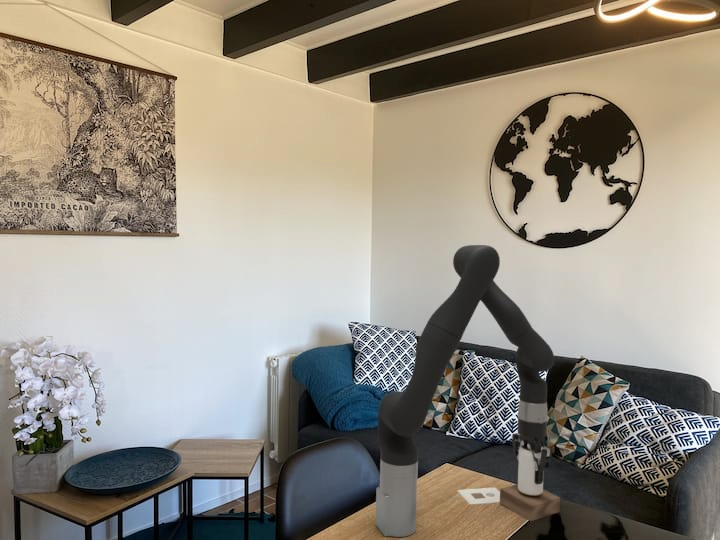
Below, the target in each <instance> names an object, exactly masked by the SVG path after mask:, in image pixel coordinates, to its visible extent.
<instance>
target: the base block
mask: <svg viewBox="0 0 720 540" xmlns="http://www.w3.org/2000/svg"><path fill="white" fill-rule="evenodd" d="M499 491H500V503H499V504H500V505H502V506H504V508H507V509H509V510H510V511H512V512H514V513H516V514H517V515H519V516H521V517H522V518H524V519H526V520H528V521H530V522H533V521H536V520H539V519H542V518H546V517H549V516H551V515H554V514H558V513H560V511H561V510H560V508H561V497H560V496H558V495H556V494H554V493H552V492H550V491H548V490H546V489H544V488H543V492H542V493H541V494H540V495H538V496H530V495H526V494H523V493H521V492H520V491H519V489H518V483H517V484H513V485H510V486H506V487H502V488H500V490H499Z"/></svg>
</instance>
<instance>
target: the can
mask: <svg viewBox="0 0 720 540" xmlns="http://www.w3.org/2000/svg"><path fill="white" fill-rule="evenodd" d="M534 455H535V457H536V458H538V459H540V458H541V454H540V453H537V454H535V453H534ZM538 465H540V460H539V461H538ZM517 471H518V472H517V484H518V489H519V491H520V492H521V493H523V494H526V495H530V496H538V495H540V494H541V493H542V492H543V489H544V481H543V482H542V483H541V484H535V462H534V461H533V456H532V453H531V450H528V448H526V447H522V445H521V449H520V451H519V466H518V465H517ZM544 471H545V470H544ZM544 471H543V473H544Z"/></svg>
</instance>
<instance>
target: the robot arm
mask: <svg viewBox="0 0 720 540" xmlns="http://www.w3.org/2000/svg"><path fill="white" fill-rule="evenodd" d="M500 263H501V260H500V255H499V252H498V251H497V249H495V247H493V246H490V245H486V244H485V245H484V244H471V245H470V244H469V245H464V246H461V247H460V248H458V249H457V250H456V252H455V253H454V255H453V259H452V265H453V268H454V271H455V272H456V274H457V276H458V277H460V279H459V281H458V284H457V285H456V287H455V289H454V291H453V292H452V293H451V294H450V295H449V297H447V299H446V300H445V301H444V302H443V303H441V305H439V307H437V309H436V310H435V311H434V312H433V313H432V315H431V316H430V317H429V319H428V321H427V323H426V325H425V326H424V328H423V330H422V332H421V333H420V337H419V339H418V341H417V345H416V352H415V358H414V366H413V371H412V374H411V376H410V379H409V381H408V384H407V385H406V386H405V390H404V391H400V390H399V391H397V390H395V391H391V392H389V393H387V394H385V396H383V397H382V399H381V401H380V403H379V407H378V411H377V412H378V413H377V414H378V415H377V425H378V426H377V436H378V437H377V439H378V440H377V441H378V447H379V451H380V464H379V468H380V469H379V486H377V487H376V494H375V495H376V496H375V521H374V522H375V526H376V527H377V528H378V530H379V531H380V532H381V533H382V534H383V536H384V537H394V538H397V537H398V538H402V537H403V538H404V537H407V536H411V535H413V534H414V533H415V532H416V528H417V504H418V503H417V502H418V501H417V500H418V499H417V498H418V497H417V496H418V471H419V470H418V469H419V468H418V467H419V449H418V447H417V444H416V443H415V442H416V441H415V440H414V439H415V438H414V435H415V434H416V433H418V432H419V430H420V429H421V428H422V427H423V425H424V422H425V421H426V418H427V415H428V413H429V410H430V407H431V404H432V402H433V400H434V396H435V393H436V392H437V388H438V386H439V385H440V382H441V381H442V379H443V376H444V375H445V372H446V370H447V368H448V365H449V364H450V361H451V360H452V358H453V356H454V354H455V353H456V350H457V349H458V346H459V344H460V342H461V340H462V338H463V336H464V333H465V331H466V329H467V327H468V325H469V323H470V321H471V319H472V317H473V315H474V313H475V312H476V309H477V307H478V305H479V303H480V302H481V303H482V304H483V305H484V306H485V307H486V309H487V310H488V312H489V313H490V314H491V316H492V318H494V320H495V322H496V323H497V325H498V326H499V327H500V329H501V331H502V332H503V334H504V335H505V337H506V339H507V340H508V341H509V343H511V344H512V345H514V346H516V347H517V349H516V352H515V364H516V371H517V376H518V380H519V384H520V385H519V402H518V407H517V408H518V409H517V433H512V434H511V436H512V454H513V457H514V456H515V457H516V460H517V461H518V462H517V467H518V466H519V451H520V449H521V445H522V447H526V448H528V450H531V453H532V456H533V461H534V462H535V484H541V483H542V482H543V483H544V472H543V471H550V469H551V464H552V455H553V448H551V447H550V448H548V447H547V446H545V441H544V439H545V438H546V437H547V434H548V383H547V382H546V380H544V378H542V377H541V376H540V373H544V372H548V371H549V370H551V369H552V367H553V366H554V364H555V356H554V352H553V350H552V348H551V347H550V345H549V344H548V343H547V341H546V340H544V338H543V337H542V336H541V335H540V334H539V333H538V332H537V331H536V330H535V329H534V328H533V326H532V325H531V323H530V322H529V319H527V317H526V315H525V313H524V312H523V310H522V309H521V308H520V307H519V305H517V304H516V303H515V301H514V300H512V298H510V297H509V296H508V295H507V294H506V293H505V292H504V291H503V290H502V289H501V288H500V287H499V286H498V285H497V283H496V282H495V281H494V280H495V278H496V276H497V274H498V271H499V269H500ZM534 453H535V454H537V453H540V454H541V458H540V459H538V458H536V457H535V455H534ZM539 460H540V465H538V461H539Z"/></svg>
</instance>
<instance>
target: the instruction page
mask: <svg viewBox="0 0 720 540" xmlns="http://www.w3.org/2000/svg"><path fill="white" fill-rule="evenodd" d="M456 492H458V494H459V495H460V496H461V498H463V499H464V500H465V501H466V502H467V503H468V504H469V505H470V506H473V505H485V504H500V490H499V489H497V487H495V486H494V487H482V488H471V489H469V488H467V489H458V490H456Z"/></svg>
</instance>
